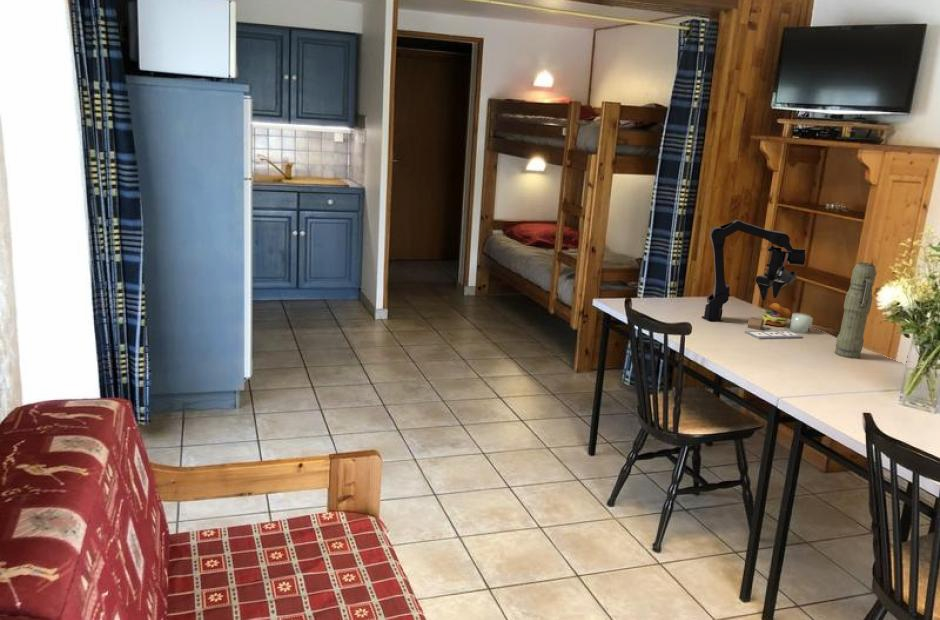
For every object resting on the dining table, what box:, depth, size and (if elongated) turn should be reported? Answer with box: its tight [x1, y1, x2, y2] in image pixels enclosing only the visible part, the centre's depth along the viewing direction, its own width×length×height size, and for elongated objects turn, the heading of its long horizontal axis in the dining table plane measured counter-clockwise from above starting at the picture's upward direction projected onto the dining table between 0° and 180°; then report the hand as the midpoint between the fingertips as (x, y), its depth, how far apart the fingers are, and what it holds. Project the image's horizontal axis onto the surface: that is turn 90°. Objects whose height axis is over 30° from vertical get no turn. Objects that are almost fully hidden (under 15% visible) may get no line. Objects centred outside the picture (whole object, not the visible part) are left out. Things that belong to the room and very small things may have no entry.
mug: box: [788, 312, 814, 335], centre depth 320 cm, size 9×7×7 cm
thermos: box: [834, 261, 877, 359], centre depth 287 cm, size 9×12×35 cm
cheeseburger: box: [761, 302, 792, 327], centre depth 329 cm, size 10×11×10 cm
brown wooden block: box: [746, 316, 764, 331], centre depth 321 cm, size 5×5×4 cm
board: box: [744, 329, 804, 340], centre depth 311 cm, size 21×9×1 cm, turn 108°
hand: (769, 299), depth 323 cm, fingers open, 9 cm apart
